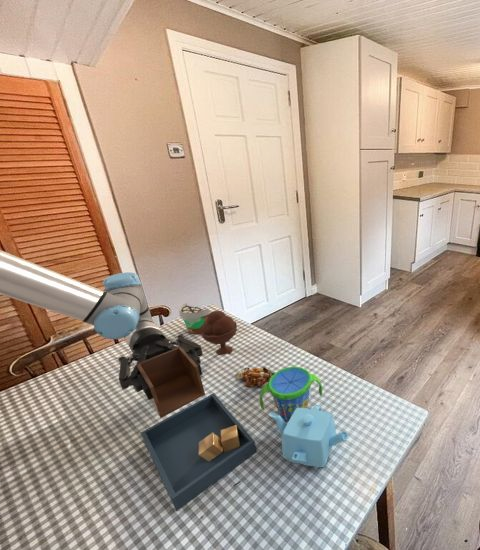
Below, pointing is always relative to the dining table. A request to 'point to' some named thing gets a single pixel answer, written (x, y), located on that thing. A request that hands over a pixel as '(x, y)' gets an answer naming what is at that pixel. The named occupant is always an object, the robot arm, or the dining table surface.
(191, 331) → the food container
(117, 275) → the robot arm
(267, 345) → the dining table surface
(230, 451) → the tray
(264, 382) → the pastry
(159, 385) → the brown open box
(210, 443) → the block
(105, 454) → the dining table surface
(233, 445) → the block
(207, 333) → the ice cream bowl
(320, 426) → the teapot
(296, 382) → the snack cup
